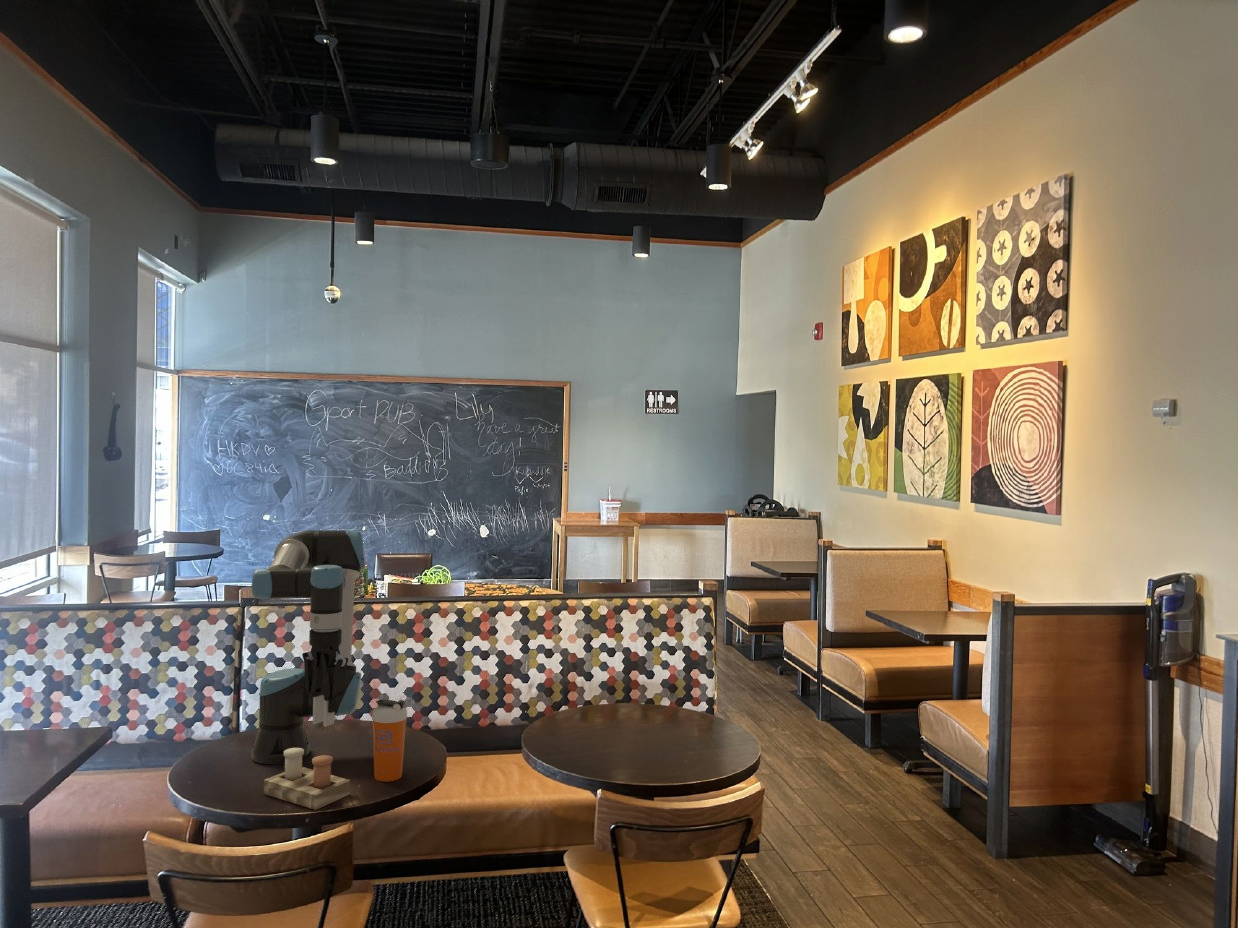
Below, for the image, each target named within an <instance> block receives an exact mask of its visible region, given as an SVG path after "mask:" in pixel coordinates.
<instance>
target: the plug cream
mask: <svg viewBox="0 0 1238 928" xmlns="http://www.w3.org/2000/svg"><path fill="white" fill-rule="evenodd" d="M303 754H304V749H302V748H290V749H287V750H285V751H284V757H285V763H284V772H285V779H286V780H290V781H294V780H297V779H299V778H302V767H303V758H302V755H303Z"/></svg>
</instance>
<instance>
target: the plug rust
mask: <svg viewBox="0 0 1238 928" xmlns="http://www.w3.org/2000/svg"><path fill="white" fill-rule="evenodd" d="M333 761H334V757H333V756H331V755H327V754H324V755H317V756H314V757H313V758H312V759H311V763H312V765H313V770H314V775H313V788H317V789H324V788H327V787H329V786H330V780H331V775H332V772H331V771H332V769H331V768H332V763H333Z"/></svg>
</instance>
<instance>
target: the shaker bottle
mask: <svg viewBox="0 0 1238 928" xmlns="http://www.w3.org/2000/svg"><path fill="white" fill-rule="evenodd" d="M375 703H376V704H377V706H376V707H375V708H374V710H373V711H372V713H371V715H372V718H371V721H372V726H373V729H372V730H373V731H372V733H373V768H374V769H373V770H374V773H373V776H374V780H375V781H378V782H382V783H383V782H385V783H386V782H394V781H398V780H400V779H401V778H402V777H403V767H404V766H403V765H404V755H405V753H404V751H405V738H406V737H405V736H406V727H407V726H406V725H407V718H408V710H407V709H406V701H405V700H403V699H399V700H393V699H383V698H382V699H378V700H376V701H375Z"/></svg>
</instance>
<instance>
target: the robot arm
mask: <svg viewBox="0 0 1238 928" xmlns="http://www.w3.org/2000/svg"><path fill="white" fill-rule="evenodd" d="M269 565H270V566H268V568H267V567H264V568H257V569H255V570H254V571H253V572H252V573H253V574H252V577H251V579H252V580H251V594H252V596H253V598H254V599H258V600H259V599H261V600H262V599H263V600H264V599H265V600H277V599H278V600H279V599H280V600H281V599H283V600H284V599H310V609H309V628H310V629H311V630H309V637H308V638H309V639H308V640H309V641H308V645H309V646H311V648H310V651H309V650H308V651H306V652H302V656H301V657H302V659H303V663H304V665H303V666H304V668H297V667H295V668H293V667H291V668H285V669H280V670H276V671H273V672H271V673H268V674H267V675H265V676H264V677H262V679H261V680H260V684H259V685H260V687H259V692H258V696H259V708H258V709H259V714H258V717H259V718H258V730H257V734H256V737H255V741H254V744H253V745H252V748H251V760H252V761H253V762H255V763H257V764H263V765H264V764H265V765H282V764H283V765H284V764H285V757H284V751H285V750H287V749H290V748H302V749H304V754H303V755H302V759H304V758H306V757H307V756H309V755H310V746H311V745H310V741H309V739H308V735H307V732H306V729H305V725H304V723H305V722H304V720H305V718H310V717H311V718H312V724H313V725H317V724H319V723H323V724H322V725H323V727H326V728H327V727H328V726H332V725H335V716H336V717H340V716H346V715H348V716H349V715H351V714H353V713H354V712H355V711H356V708H357V706H358V705H357V704H358V699H359V694H360V688H361V680H362V673H361V672H359V671H357V665H356V664H355V663H354V662H352V653H353V652H352V650H353V649H352V648H353V647H352V646H353V627H354V626H353V623H354V599H355V598H354V597H355V581H356V579H357V578H359V577H360V576H361V570H362V571H363V570H365V569H366V562H365V551H364V543H363V536H362V533H361V532H360V531H358V530H347V529H344V530H343V529H342V530H341V529H340V530H339V529H338V530H335V529H333V530H331V529H330V530H323V529H322V530H314V529H310V530H303V531H299V532H295V533H294V534H291V535H289V536H287V537H285V538H284V539H283V540H281V541H280V542H279V543H278V544H277V545H276V547H275V549H274V552H273V560H272V561H271V563H270V564H269Z"/></svg>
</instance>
